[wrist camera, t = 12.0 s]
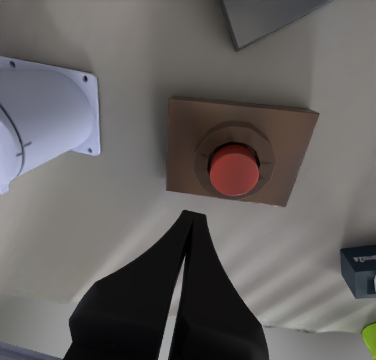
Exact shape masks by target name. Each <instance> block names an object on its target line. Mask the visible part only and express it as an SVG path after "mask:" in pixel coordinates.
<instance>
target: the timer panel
mask: <svg viewBox="0 0 376 360" xmlns="http://www.w3.org/2000/svg"><path fill="white" fill-rule="evenodd" d="M219 1H220V4H221V7H222V11H223V14H224V17H225V20H226V23H227V26H228V29H229V32H230V35H231V38H232V41H233V44H234V47H235V50H236V52H237V51H239V50H241V49H243V48H245V47H247V46H249V45H250V44H252V43H254V42H256V41H258V40H260V39H262V38H264V37H265V36H267V35H269V34H271V33H273V32H275V31H277V30H279V29H280V28H282V27H284V26H286V25H288V24H290V23H292V22H294V21H295V20H297V19H299V18H301V17H303V16H305V15H307V14H309V13H310V12H312V11H314V10H316V9H318V8H320V7H322V6H324V5H325V4H327V3H329V2H331V1H333V0H219Z"/></svg>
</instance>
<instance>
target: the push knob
mask: <svg viewBox="0 0 376 360" xmlns="http://www.w3.org/2000/svg"><path fill="white" fill-rule="evenodd" d="M258 177H259V170H258V166H257V164H256V161H255V158H254V156H253V154H252V153H251V151H250V150H249V149H247V148H246V147H244V146H241V145H235V144H233V145H227V146H224V147H222V148H221V149H219V150H218V151H217V152H216V153H215V154H214V156H213V158H212V161H211V169H210V179H211V182H212V184H213V186H214V187H215V188H216V189H217V190H218V191H219V192H221V193H223V194H225V195H230V196H238V195H242V194H245V193H247V192H248V191H250V190H251V189H252V188H253V187H254V186H255V184H256V183H257V181H258Z"/></svg>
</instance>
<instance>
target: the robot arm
mask: <svg viewBox="0 0 376 360" xmlns="http://www.w3.org/2000/svg"><path fill="white" fill-rule="evenodd" d="M14 63H15V66H14ZM85 76H86V77H87V78H88V80H87V81H86V80H85ZM90 148H91V149H92V151H90ZM68 150H71V151H76V152H80V153H85V154H90V155H94V156H97V155H99V154H100V128H99V105H98V82H97V77H96V76H95V75H94V74H92V73H87V72H82V71H77V70H72V69H67V68H61V67H56V66H51V65H46V64H41V63H36V62H30V61H25V60H20V59H15V58H10V57H5V56H0V196H1V195H2V194H4V193H6V192H8V191H9V188H8V187H9V183H10V182H11V181H12V180H13V179H15V178H17V177H19V176H21V175H23V174H25V173H27V172H29V171H30V170H32V169H34V168H36V167H38V166H40V165H42V164H44V163H46V162H48V161H49V160H51V159H53V158H55V157H57V156H59V155H61V154H63V153H65V152H67V151H68ZM185 254H186V255H185ZM184 257H185V264H184V273H183V282H182V291H181V297H180V302H179V307H178V312H177V317H176V323H175V328H174V333H173V337H172V343H171V347H170V352H169V357H168V360H269V354H268V347H267V343H266V339H265V335H264V332H263V329H262V325H261V324H260V322H259V321H258V320H257V318H256V317H255V316H254V315H253V313H252V312H251V311H250V310H249V308H248V307H247V306H246V304H245V303H244V301H243V300H242V299H241V297H240V296H239V294H238V293H237V291H236V289H235V288H234V286H233V285H232V283H231V281H230V280H229V278H228V276H227V274H226V272H225V271H224V269H223V267H222V265H221V263H220V260H219V258H218V256H217V253H216V251H215V248H214V246H213V243H212V240H211V236H210V233H209V229H208V225H207V218H206V215H205V214H201V213H196V212H192V211H188V210H183V211H182V213H181V215H180V216H179V218H178V219H177V221H176V222H175V223H174V224H173V226H172V227H171V228H170V229H169V230H168V231H167V232H166V233H165V234H164V235H163V237H162V238H161V239H160V240H159V241H157V242H156V243H155V244H154V245H153V246H152V247H151V248H149V249H148V250H147V251H146V252H144V253H143V254H142V255H140V256H139V257H138V258H136V259H135V260H134V261H132V262H130V263H129V264H127V265H126V266H124V267H122V268H121V269H119V270H118V271H116V272H114V273H112V274H110V275H108V276H106V277H104V278H102V279H101V280H99V281H97V282H95V283H94V284H93V285H92V287H91V288H90V289H89V290H88V291H87V293H86V294H85V295H84V296H83V298H82V299H81V301H80V302H79V304H78V305H77V307H76V309H75V310H74V312H73V314H72V316H71V317H70V319H69V327H70V332H71V336H72V341H73V342H72V344H71V346H70V348H69V349H68V351H67V353H66V355H65V357H64V358H63V359H61V358H57V357H53V356H49V355H46V354H43V353H39V352H36V351H32V350H28V349H25V348H21V347H18V346H14V345H11V344H7V343H4V342H0V360H158V357H159V353H160V348H161V344H162V339H163V335H164V331H165V326H166V322H167V317H168V313H169V309H170V304H171V300H172V296H173V292H174V288H175V285H176V282H177V279H178V276H179V273H180V270H181V266H182V263H183V260H184Z"/></svg>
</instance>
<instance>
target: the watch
mask: <svg viewBox="0 0 376 360" xmlns="http://www.w3.org/2000/svg"><path fill="white" fill-rule="evenodd" d="M340 254H341V270H342V276H343V278H344V279H345V281H346V283H347V285H348V286H349V288H350V290H351V291H352V293H353V295H354V297H355V298H356V299H360V298H375V297H376V245H371V246H363V247H355V248H347V249H340Z"/></svg>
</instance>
